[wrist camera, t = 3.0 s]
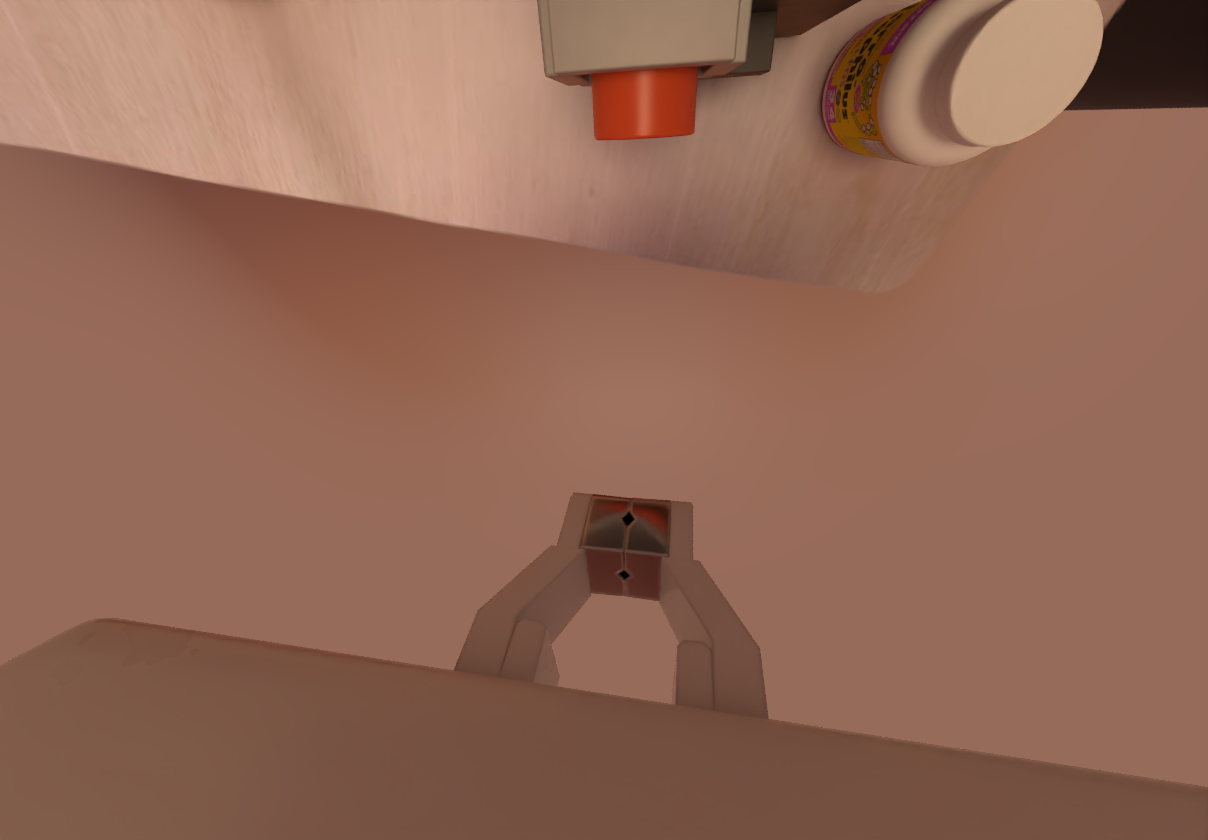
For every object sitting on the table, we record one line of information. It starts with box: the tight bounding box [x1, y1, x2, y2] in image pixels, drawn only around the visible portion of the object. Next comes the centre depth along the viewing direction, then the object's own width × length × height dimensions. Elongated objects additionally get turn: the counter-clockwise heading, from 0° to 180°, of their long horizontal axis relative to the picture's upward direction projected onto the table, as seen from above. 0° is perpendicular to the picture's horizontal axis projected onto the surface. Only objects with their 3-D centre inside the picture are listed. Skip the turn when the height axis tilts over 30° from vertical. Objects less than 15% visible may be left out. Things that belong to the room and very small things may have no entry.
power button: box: [591, 66, 698, 140], centre depth 14 cm, size 3×2×3 cm, turn 93°
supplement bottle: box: [822, 0, 1103, 167], centre depth 21 cm, size 7×7×13 cm
